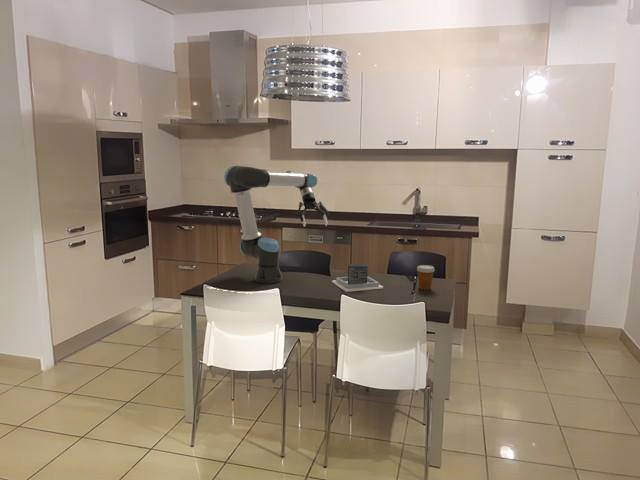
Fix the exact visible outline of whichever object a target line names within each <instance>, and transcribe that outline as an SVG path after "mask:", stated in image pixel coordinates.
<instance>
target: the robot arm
mask: <svg viewBox="0 0 640 480" xmlns="http://www.w3.org/2000/svg"><path fill="white" fill-rule="evenodd" d="M223 179H224V182H225V184H226V185H227V186H228V187H229V189H230V192H231V193H232V195H234V198H235V203H236V207H237V212H238V217H239V221H240V225H241V230H242V231H241V232H242V235H241V238H240V239H241V240H240V242H239V250H240V252H241V254H242V255H243V256H245V257H247V258H249V259H254V260H256V261H257V269H256V273H255V276H254V282H256V283H259V284H265V285H266V284H277V283H280V282H282V281H283V275H282V273H281V270H280V265H279V264H280V243H279V241H278V240H277V239H275V238H272V237H263V236H262V232H261V231H258V226H257V224H258V223H257V221H256V220H257V219H256V215H255V209H254V206H253V201H252V197H251V190H252V189H255V188H267V187H268V186H270V187H274V186H276V187H278V186H279V187H294V188H297V189H298V190H299V191H300V196H301V198H302V201H300V202H299V203H298V209H297V213H296V215H295V217H297V218H299V219H300V222H302V225H303V227H306V225H307V223H306V219H305V215H304V214H305V213H306V212H307V211H308V210H309V211H316V212H318V213H319V214H320V215H322V216H323V217H322V218H323V222H324V225H325V227H327V226H328V224H329V222H328V221H329V218H328V216H329V215H330V212H329V210H328V209H327V208H326V207H325V206H324V204H322V201H319V202H317V200H316V197H315V194H314V191H313V188H315V187H316V185H317V184H318V177H317V176H316V175H315V174H312V173H301V172H299V173H298V172H294V171H293V170H292V171H291V170H286V171H285V172H284V171H283V172H280V171H279V172H278V171H268V170H267V169H261V168H256V167H254V166H253V167H251V166H246V165H245V166H243V165H242V166H241V165H232V166H230V167H228V168H227V169H226V171H225V172H224V178H223ZM302 207H304V208H303V209H302ZM301 209H302V211H301Z"/></svg>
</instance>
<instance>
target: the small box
mask: <svg viewBox="0 0 640 480" xmlns="http://www.w3.org/2000/svg"><path fill="white" fill-rule="evenodd" d="M368 273H369V272H368V264H356V263H353V264H347V277H348V284H360V283H367V276H368Z"/></svg>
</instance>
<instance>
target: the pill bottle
mask: <svg viewBox="0 0 640 480" xmlns="http://www.w3.org/2000/svg"><path fill="white" fill-rule="evenodd" d="M435 270H436V269H435V267H434V266H433V265H429V264H420V265H418V266H417V267H416V271H417V279H418V281H417V283H418V288H420V289H419V290H422V289H424V290H423V291H427V290H428V289H429V290H432V289H431V288H432V285H433V284H432V283H433V278H434V273H435ZM429 290H428V291H429Z"/></svg>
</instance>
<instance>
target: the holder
mask: <svg viewBox="0 0 640 480" xmlns="http://www.w3.org/2000/svg"><path fill="white" fill-rule="evenodd" d="M335 278H336V279H335V280H332V279H331V283H332V284H334V285H335V286H336V287H338V288H340V289H341V290H342V291H344V292H346V293H349V292H358V291H359V292H360V291H371V290H381V289H383V290H384V285H381V284H380V282H379V281H377V280H375V279H373V278H372V277H370V276H368V275H367V283H360V284H348V276H341V277H335Z"/></svg>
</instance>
